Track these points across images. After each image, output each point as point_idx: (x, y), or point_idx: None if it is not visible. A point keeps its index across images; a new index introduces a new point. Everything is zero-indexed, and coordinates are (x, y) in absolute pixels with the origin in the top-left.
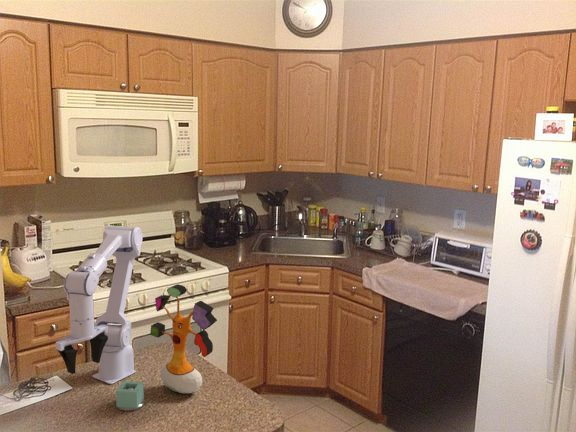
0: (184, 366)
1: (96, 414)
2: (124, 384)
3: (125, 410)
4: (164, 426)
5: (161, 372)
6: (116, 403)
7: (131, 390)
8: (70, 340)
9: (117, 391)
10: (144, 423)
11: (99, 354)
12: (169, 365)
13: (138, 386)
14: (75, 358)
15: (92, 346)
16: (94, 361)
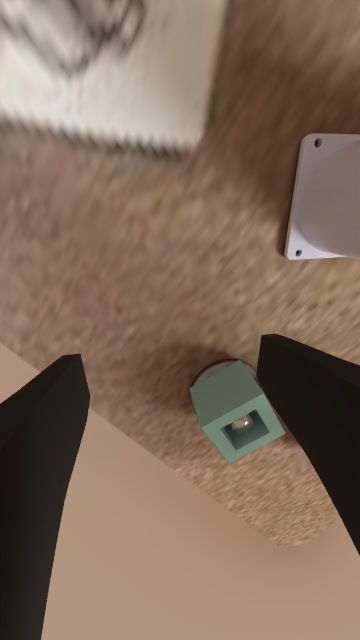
0: None
1: (137, 370)
2: (246, 412)
3: (194, 406)
4: (199, 484)
5: None
6: (191, 395)
7: (228, 450)
8: None
9: (202, 428)
10: (183, 460)
11: (293, 429)
12: None
13: (257, 443)
14: (52, 544)
15: (347, 407)
16: (261, 352)
